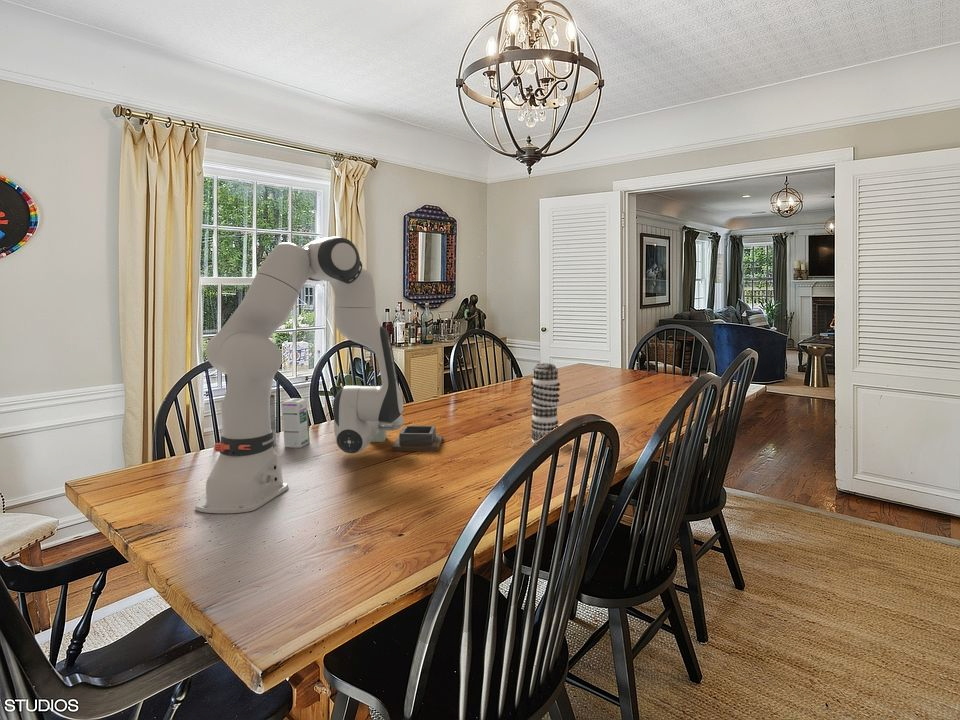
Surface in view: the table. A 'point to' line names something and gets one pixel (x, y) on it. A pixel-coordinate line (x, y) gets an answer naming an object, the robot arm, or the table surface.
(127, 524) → the table surface
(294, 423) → the syrup box
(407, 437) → the dark grey square holder
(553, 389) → the decorative candle
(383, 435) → the sage peg
